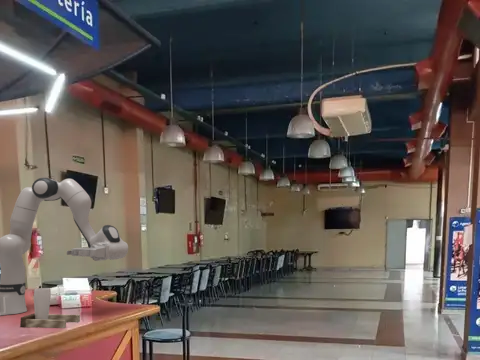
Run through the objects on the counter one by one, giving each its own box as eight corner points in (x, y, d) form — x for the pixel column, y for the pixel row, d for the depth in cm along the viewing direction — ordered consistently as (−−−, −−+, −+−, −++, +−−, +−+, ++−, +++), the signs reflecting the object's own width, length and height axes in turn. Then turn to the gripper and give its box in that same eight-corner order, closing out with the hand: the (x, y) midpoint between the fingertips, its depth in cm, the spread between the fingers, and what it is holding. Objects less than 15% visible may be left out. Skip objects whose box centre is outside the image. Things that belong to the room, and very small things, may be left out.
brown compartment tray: (20, 327, 192) (20, 317, 192) (38, 320, 204) (38, 311, 205) (63, 328, 188) (64, 318, 189) (79, 321, 201) (80, 312, 202)
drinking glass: (43, 325, 194) (44, 289, 195) (29, 325, 195) (30, 289, 196) (53, 322, 200) (53, 287, 202) (39, 322, 201) (40, 287, 203)
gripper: (86, 244, 229) (61, 245, 218) (110, 245, 216) (84, 246, 205) (86, 257, 228) (60, 259, 217) (110, 258, 215) (84, 260, 204)
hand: (72, 253), depth 211 cm, fingers open, 8 cm apart
